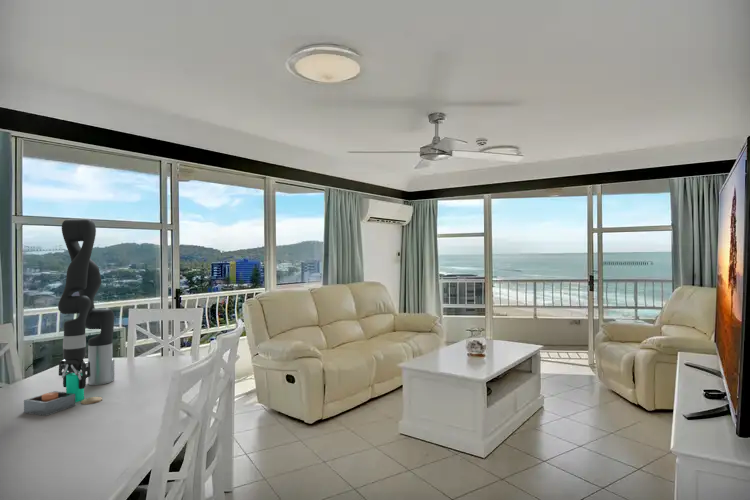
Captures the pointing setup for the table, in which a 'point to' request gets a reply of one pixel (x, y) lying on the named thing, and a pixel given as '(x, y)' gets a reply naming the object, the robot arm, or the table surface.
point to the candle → (74, 386)
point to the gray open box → (49, 404)
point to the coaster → (91, 400)
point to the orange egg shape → (49, 396)
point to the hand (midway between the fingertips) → (74, 387)
